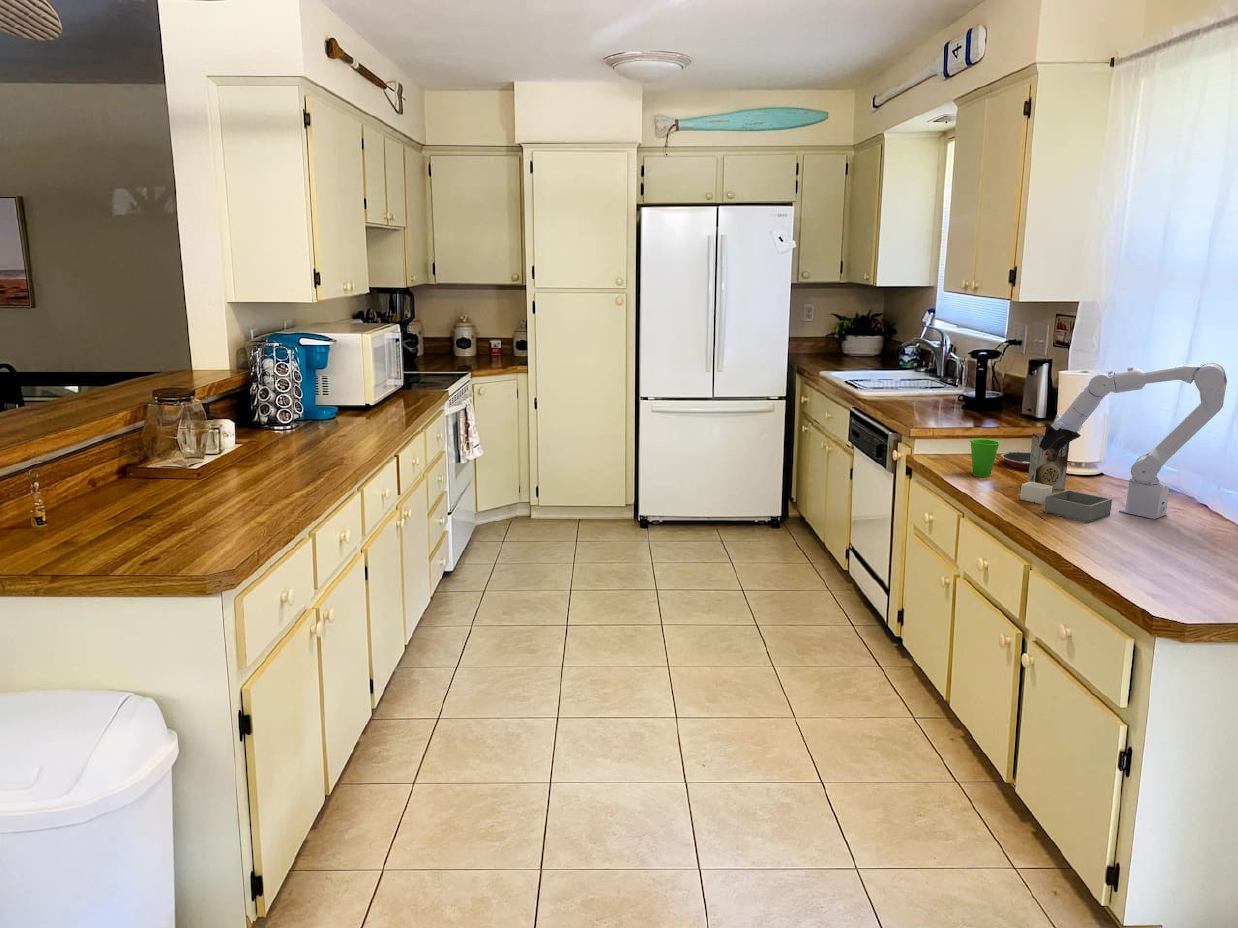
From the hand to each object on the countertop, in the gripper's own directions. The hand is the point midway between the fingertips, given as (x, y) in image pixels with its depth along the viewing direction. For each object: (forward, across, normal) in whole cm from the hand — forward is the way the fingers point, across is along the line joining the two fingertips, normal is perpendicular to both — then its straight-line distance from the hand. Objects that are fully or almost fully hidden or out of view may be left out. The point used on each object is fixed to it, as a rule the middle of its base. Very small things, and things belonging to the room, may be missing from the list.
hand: (1048, 448), depth 267 cm
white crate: (+13, +2, +7) cm, 15 cm away
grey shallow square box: (+7, +6, +20) cm, 22 cm away
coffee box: (+14, -15, +1) cm, 21 cm away
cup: (+24, -14, -16) cm, 32 cm away
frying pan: (+17, -34, -10) cm, 39 cm away
